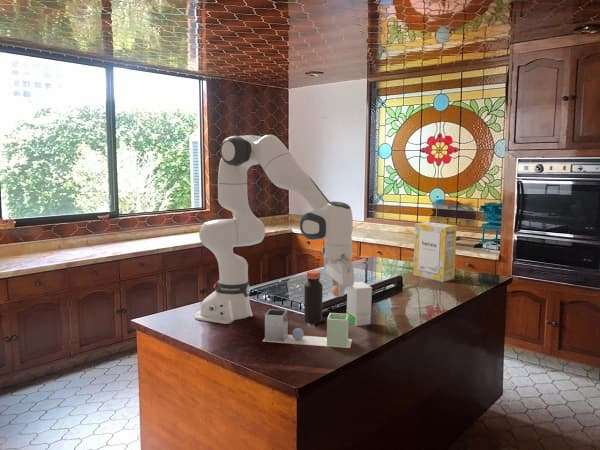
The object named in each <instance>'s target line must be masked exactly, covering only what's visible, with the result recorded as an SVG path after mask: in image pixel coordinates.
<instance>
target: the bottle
mask: <svg viewBox="0 0 600 450" xmlns="http://www.w3.org/2000/svg"><path fill="white" fill-rule="evenodd" d="M306 279H307V281H306V283H305V284H304V289H303V290H304V295H303V296H304V304H303V305H304V309H303V310H304V311H303V312H304V313H303V314H304V316H303V318H304V320H303V321H304V322H305V323H307V324H320V323H322V322H323V288H324V287H323V284H322V283H321V281H320V280H321V271H319V270H308V271H307V272H306Z"/></svg>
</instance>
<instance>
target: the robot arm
mask: <svg viewBox="0 0 600 450" xmlns="http://www.w3.org/2000/svg"><path fill="white" fill-rule="evenodd" d="M220 156H221V158H220V160H219V165H218V172H217V173H218V174H217V201H218V203H219V205H220V206H221V208H223V209H225V210H228V211H229V212H231V213H232V218H224V219H223V218H221V219H213V220H209V221H205V222H204V223H202V225H201V226H200V229H199V232H198V236H199V240H200V242H201V244H202V245H203V246H204V247H205V248H207V249H209V251H210V252H212V253H213V255H214V256H215V259H216V260H217V264H218V265H217V266H218V272H219V273H218V274H219V277H218V280H217V281H216V282H215V284H214V285H213V288H214V289H215V290H214V291H213V292H212V293H210V294H209V295H208V296H206V297H205V298H204V299H203V300H202V302H201V304H200V309H199V310H198V311H197V312H196V313H195V314H194V319H195V320H198V321H204V322H210V323H211V322H212V323H218V324H224V325H230V324H232V323H233V322H234V321H236V320H242V319H246V318H248V317H253V312H252V309H251V304H250V303H251V302H250V281H249V274H248V273H249V272H248V271H249V264H248V261H247V260H246V259H245V258H244V257H243V256H240V255H238V254H236V253H234V248H235V247H236V248H237V247H238V248H239V247H247V246H248V247H249V246H253V245H257V244H260V243H262V241H263V240H264V239H265V236H266V228H265V225H264V223H263V221H262V220H261V219H259V218H258V217H257V216H256V215H255V214H254V213H253V211H252V210H251V208H250V203H249V198H248V171H249V169H250V168H252V167H254V168H256V167H259V166H261V167H262V169H263V171H264V173H265V174H266V176H267V178H268V180H269V181H271V183H272V184H273V185H275V186H276V187H278V188H279V189H283V190H286V191H287V190H288V191H291V192H294V193H297V194H298V195H299V196H301V197H302V198H303V199H304V200H305V201H306V202H307V204H308V205H309V206H310V207H311V209H312V210H311V211H308V212H305V213H304V214H303V215H302V216H301V218H300V219H299V230H300V232H301V234H302V236H303V237H304V238H305V239H307V240H309V241H310V240H311V241H317V240H324V242H325V243H324V246H322V254H323V268H324V269H323V270H324V272H325V274H326V275H327V276H329V277H330V281H331V284H332V288H333V287H334V286H336V285H339V290H338V295H339V296H341V297H344V296H345V290H346V288H348V287H351V286H353V284H354V282H355V275H354V274H355V273H354V264H353V262H352V261H350V259H353V239H352V233H353V231H354V230H353V229H354V224H353V223H354V222H353V221H354V220H353V218H354V217H353V211H352V208H351V206H350V205H349V204H347V203H346V202H343V201H330V200H329V199H328V198H327V197H326V195H325V194H324V193H323V191H322V189H320V188H319V186H318V185H317V184H316V182H315V181H314V180H313V179H312V178H311V177H310V176H309V175H308V174H307V173H306V172H305V171H304V170H303V168H302V167H301V166H300V165H299V164H298V162H297V161H296V160H295V158H294V156H293V155H292V154H291V152H290V150H289V149H288V148H287V147H286V146H285V144H284V142H282V141H281V140H280V139H279V138H278V137H277V136H276V135H273V134H266V135H253V134H248V135H246V134H245V135H232V136H229V137H226V138H225V139H224V140H223V141H222V143H221V146H220Z"/></svg>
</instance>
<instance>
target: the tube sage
mask: <svg viewBox="0 0 600 450" xmlns="http://www.w3.org/2000/svg"><path fill="white" fill-rule="evenodd" d="M326 337H327V345H328V346H327V347H330V346H341V347H340V348H343V347H346V346H347V342H348V339H349V323H348V314H346V313H341V312H340V313H337V312H329V314H328V316H327V318H326Z"/></svg>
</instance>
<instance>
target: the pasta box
mask: <svg viewBox="0 0 600 450" xmlns="http://www.w3.org/2000/svg"><path fill="white" fill-rule="evenodd" d="M457 226H458V225H456V224H455V225H454V224H449V223H448V224H446V223H438V222H429V221H424V222H418V223H417V222H416V223H414V246H413V247H414V249H413V270H412V271H413V274H412V275H413V276H415V277H420V278H424V279H429V280H434V281H437V282H441V283H443V282H447V281H451V280H454V279H455V275H456V274H455V273H456V271H455V270H456V253H457V252H456V251H457V232H458V231H457V230H458V229H457V228H458V227H457Z"/></svg>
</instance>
